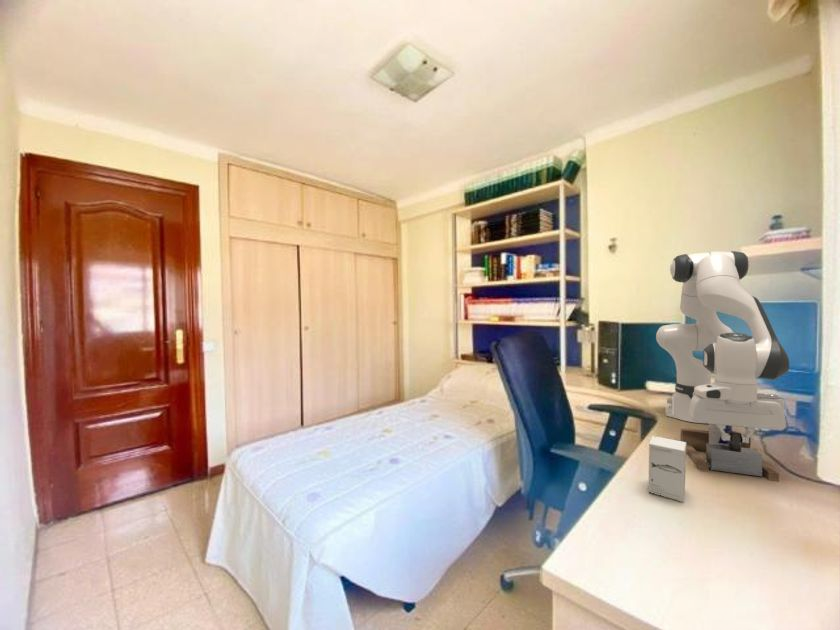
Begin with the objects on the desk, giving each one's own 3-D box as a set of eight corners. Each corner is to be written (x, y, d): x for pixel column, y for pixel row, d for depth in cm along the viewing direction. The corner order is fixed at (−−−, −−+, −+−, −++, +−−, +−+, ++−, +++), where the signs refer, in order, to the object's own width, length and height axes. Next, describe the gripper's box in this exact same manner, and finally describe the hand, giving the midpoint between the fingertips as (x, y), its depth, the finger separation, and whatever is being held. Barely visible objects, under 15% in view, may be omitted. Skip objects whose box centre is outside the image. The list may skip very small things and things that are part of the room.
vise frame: (680, 446, 116) (680, 427, 116) (746, 454, 109) (746, 434, 109) (699, 470, 99) (699, 448, 99) (778, 481, 93) (778, 457, 93)
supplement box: (647, 493, 88) (647, 443, 87) (651, 481, 93) (651, 434, 93) (684, 503, 83) (684, 450, 83) (686, 490, 88) (686, 441, 88)
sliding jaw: (706, 463, 103) (706, 426, 102) (754, 470, 98) (755, 431, 98) (711, 470, 99) (712, 431, 98) (762, 476, 94) (763, 436, 94)
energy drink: (736, 462, 104) (736, 422, 104) (715, 461, 105) (715, 421, 105) (724, 455, 109) (724, 416, 109) (704, 453, 110) (705, 416, 110)
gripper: (778, 392, 96) (777, 442, 97) (687, 386, 104) (687, 432, 104) (791, 398, 90) (791, 451, 91) (694, 391, 98) (694, 440, 99)
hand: (734, 441), depth 98 cm, fingers closed on sliding jaw, 3 cm apart
